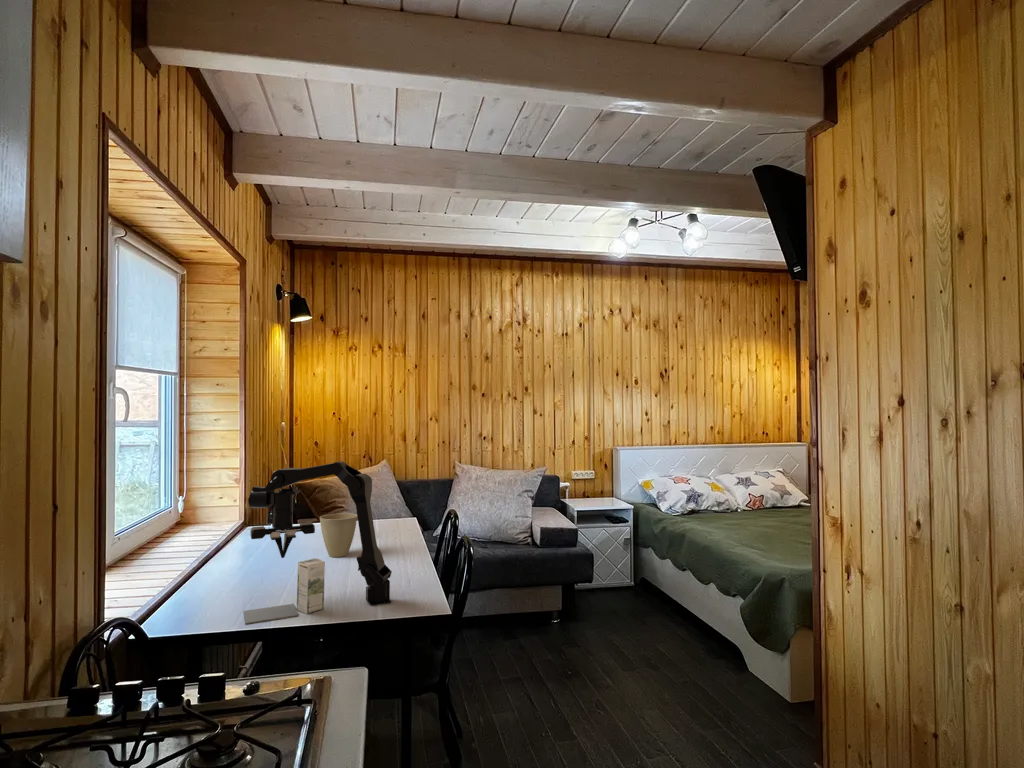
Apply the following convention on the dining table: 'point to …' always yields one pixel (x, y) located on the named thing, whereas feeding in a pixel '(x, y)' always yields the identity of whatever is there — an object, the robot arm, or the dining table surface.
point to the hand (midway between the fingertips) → (282, 557)
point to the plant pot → (338, 533)
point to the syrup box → (310, 585)
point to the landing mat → (269, 613)
